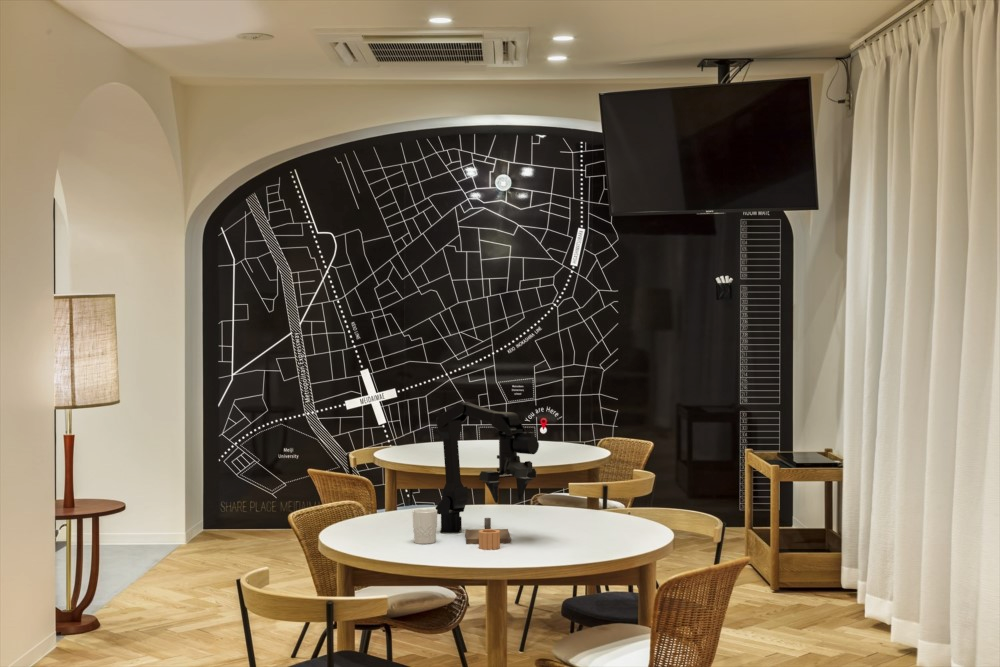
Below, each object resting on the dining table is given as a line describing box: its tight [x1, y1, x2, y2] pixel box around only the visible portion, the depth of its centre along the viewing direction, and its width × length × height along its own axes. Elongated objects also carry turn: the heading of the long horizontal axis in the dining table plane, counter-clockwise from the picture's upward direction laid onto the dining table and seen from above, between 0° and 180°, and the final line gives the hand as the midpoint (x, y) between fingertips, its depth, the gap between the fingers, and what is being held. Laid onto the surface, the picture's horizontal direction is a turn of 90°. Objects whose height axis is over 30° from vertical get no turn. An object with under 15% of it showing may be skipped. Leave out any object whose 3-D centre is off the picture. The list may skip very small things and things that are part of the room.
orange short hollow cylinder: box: [478, 528, 501, 551], centre depth 297 cm, size 6×6×5 cm
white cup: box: [412, 508, 438, 545], centre depth 306 cm, size 8×8×10 cm
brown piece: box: [465, 517, 512, 545], centre depth 311 cm, size 14×16×6 cm
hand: (508, 501), depth 307 cm, fingers open, 9 cm apart
